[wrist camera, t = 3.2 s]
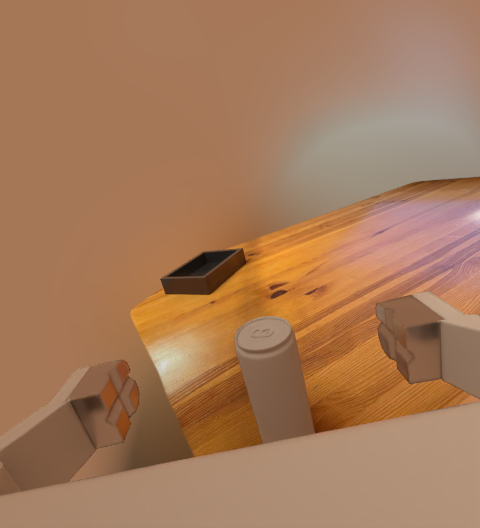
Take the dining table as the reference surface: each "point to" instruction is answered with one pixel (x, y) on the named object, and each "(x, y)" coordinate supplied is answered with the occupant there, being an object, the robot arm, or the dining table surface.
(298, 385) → the beverage can
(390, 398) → the dining table surface
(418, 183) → the dining table surface
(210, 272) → the dark shallow tray
